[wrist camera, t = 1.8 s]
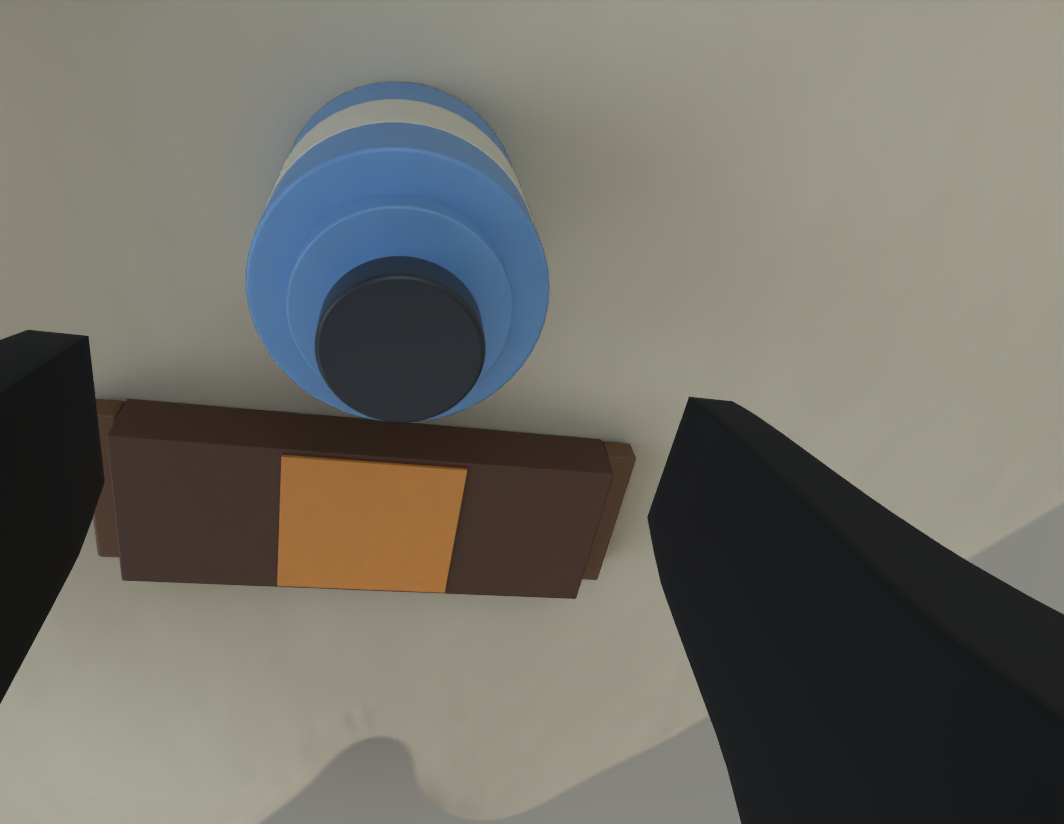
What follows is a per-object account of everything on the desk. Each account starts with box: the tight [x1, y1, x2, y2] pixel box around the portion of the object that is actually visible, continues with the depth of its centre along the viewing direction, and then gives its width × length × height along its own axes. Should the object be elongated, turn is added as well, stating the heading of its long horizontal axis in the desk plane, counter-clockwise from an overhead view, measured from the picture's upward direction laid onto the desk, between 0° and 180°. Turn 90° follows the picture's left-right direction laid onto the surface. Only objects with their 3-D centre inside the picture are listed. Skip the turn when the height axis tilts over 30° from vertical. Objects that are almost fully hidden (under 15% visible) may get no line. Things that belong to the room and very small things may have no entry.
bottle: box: [246, 82, 549, 423], centre depth 15 cm, size 5×5×7 cm
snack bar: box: [93, 399, 636, 599], centre depth 21 cm, size 14×4×2 cm, turn 79°
